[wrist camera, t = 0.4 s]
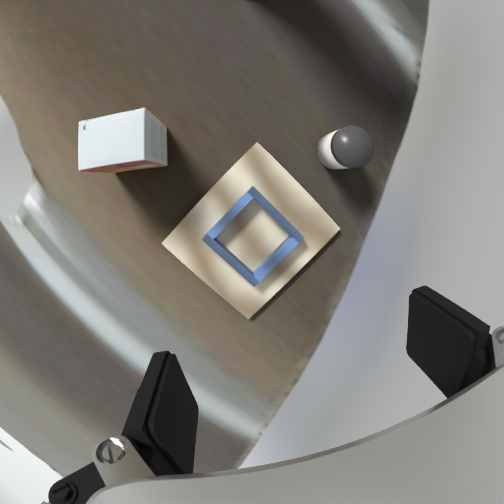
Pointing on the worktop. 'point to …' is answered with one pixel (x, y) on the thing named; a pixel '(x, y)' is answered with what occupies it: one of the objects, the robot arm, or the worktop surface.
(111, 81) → the worktop surface
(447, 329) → the robot arm
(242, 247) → the mount plate
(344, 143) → the gray domed white cylinder
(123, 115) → the small box
